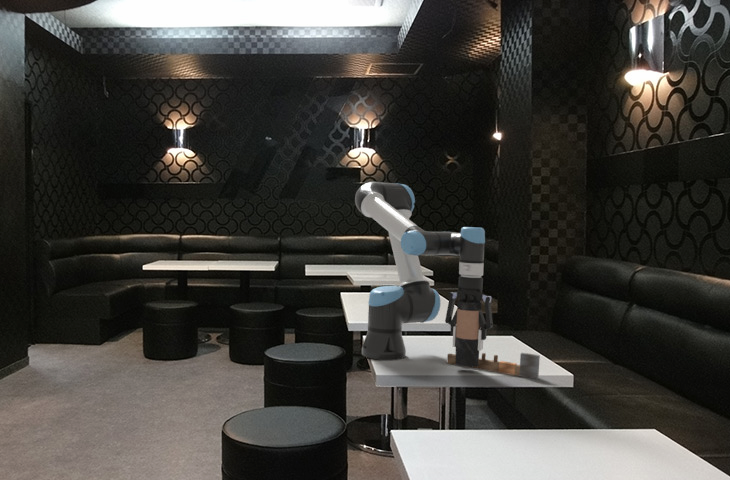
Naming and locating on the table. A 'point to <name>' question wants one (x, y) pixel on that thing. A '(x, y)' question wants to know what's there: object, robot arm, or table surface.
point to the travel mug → (467, 334)
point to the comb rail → (507, 365)
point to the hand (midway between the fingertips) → (467, 347)
